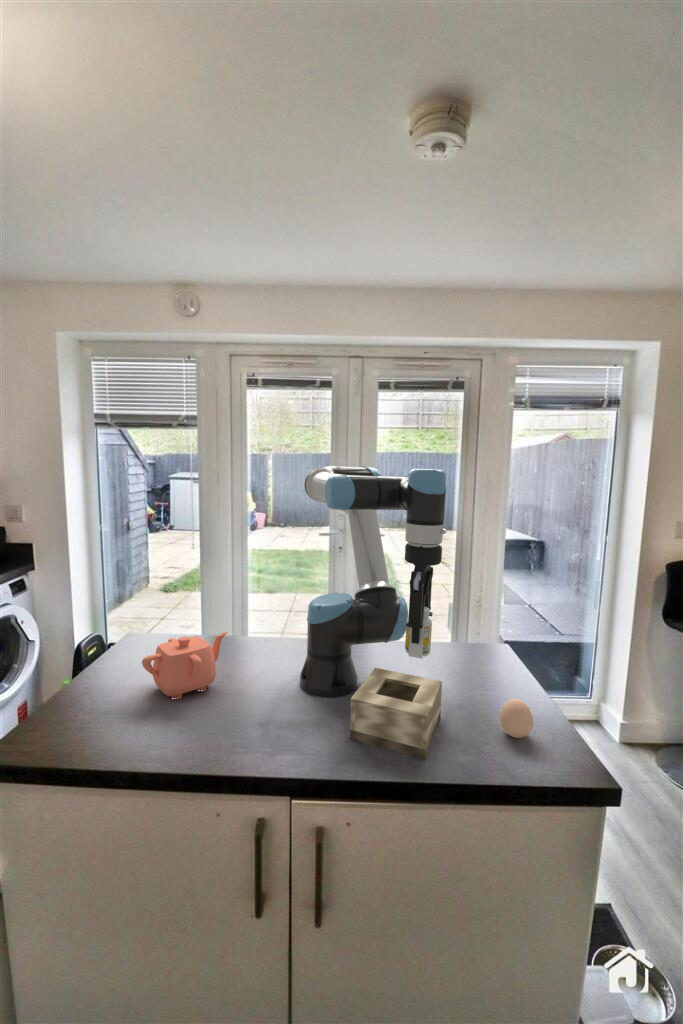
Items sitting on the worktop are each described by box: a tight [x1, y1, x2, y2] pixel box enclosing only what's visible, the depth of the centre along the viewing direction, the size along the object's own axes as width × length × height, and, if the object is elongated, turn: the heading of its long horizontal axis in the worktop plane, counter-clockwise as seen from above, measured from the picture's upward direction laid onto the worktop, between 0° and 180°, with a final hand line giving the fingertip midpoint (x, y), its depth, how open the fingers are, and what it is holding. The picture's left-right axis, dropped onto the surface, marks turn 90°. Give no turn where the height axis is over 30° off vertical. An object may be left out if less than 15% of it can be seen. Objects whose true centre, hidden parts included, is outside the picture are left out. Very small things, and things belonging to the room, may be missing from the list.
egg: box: [499, 698, 534, 739], centre depth 92 cm, size 7×7×8 cm
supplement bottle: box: [404, 606, 433, 658], centre depth 91 cm, size 5×5×10 cm
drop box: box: [349, 667, 443, 760], centre depth 94 cm, size 16×16×9 cm
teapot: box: [141, 631, 228, 699], centre depth 110 cm, size 17×16×13 cm
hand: (418, 650), depth 92 cm, fingers closed on supplement bottle, 5 cm apart
